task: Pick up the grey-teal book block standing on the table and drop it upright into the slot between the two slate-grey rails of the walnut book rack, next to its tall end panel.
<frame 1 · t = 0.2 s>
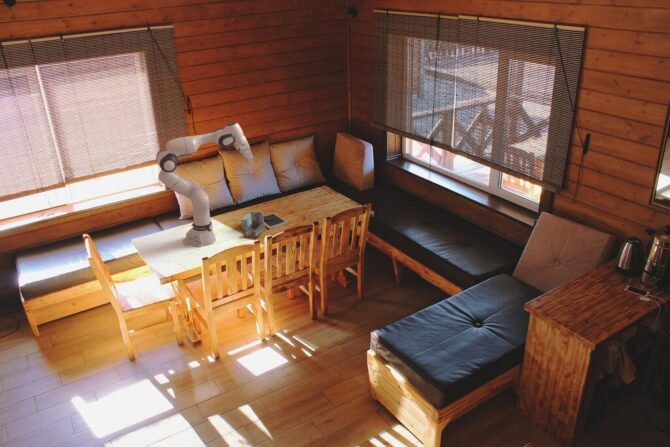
hand: (249, 161, 391), 51 cm above the table, tool tilted 20°, fingers open, 8 cm apart
book: (247, 226, 418), on the table
picture frame: (272, 222, 424), on the table
book rack: (254, 233, 408), on the table
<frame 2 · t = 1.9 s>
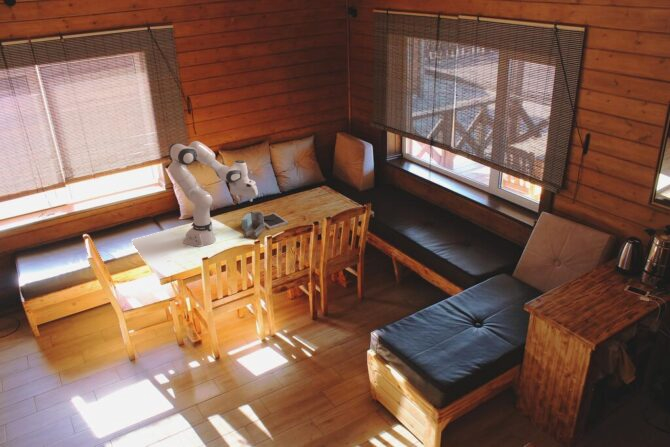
hand: (244, 200, 409), 20 cm above the table, tool pointing down, fingers open, 8 cm apart
nothing on the table moved.
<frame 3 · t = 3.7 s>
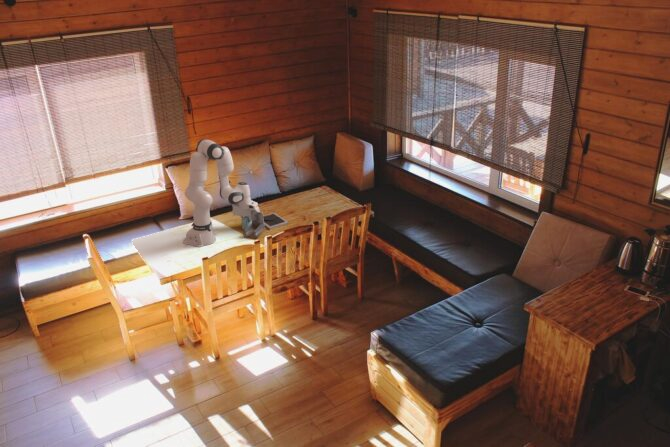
hand: (247, 221, 416), 4 cm above the table, tool pointing down, fingers closed on book, 4 cm apart
book: (247, 226, 418), on the table, touching gripper
everything else where it was.
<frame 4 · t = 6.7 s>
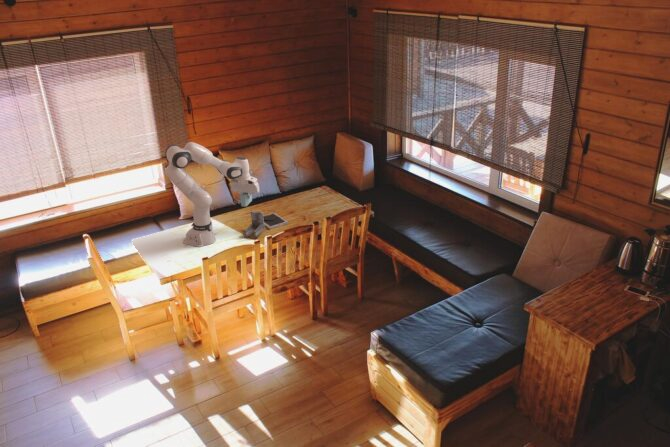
hand: (246, 197, 404), 24 cm above the table, tool pointing down, fingers closed on book, 3 cm apart
book: (246, 203, 406), point 20 cm above the table, touching gripper
everything else where it was.
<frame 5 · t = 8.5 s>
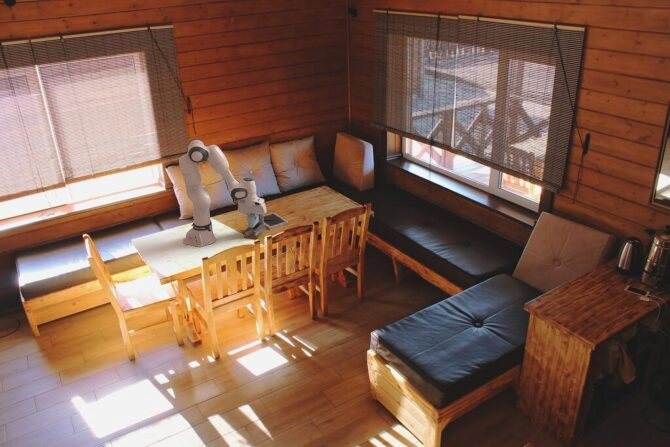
hand: (253, 218, 402), 12 cm above the table, tool pointing down, fingers closed on book, 3 cm apart
book: (253, 224, 404), point 7 cm above the table, touching gripper
everything else where it was.
when the fingers open (7 cm above the table, at t = 9.8 s): book drops 1 cm, resting on book rack.
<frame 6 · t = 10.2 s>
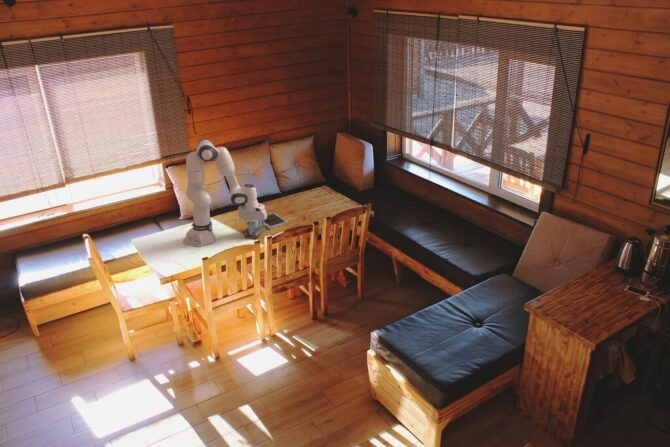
hand: (253, 224, 404), 7 cm above the table, tool pointing down, fingers open, 8 cm apart
book: (254, 231, 407), point 1 cm above the table, touching book rack
everything else where it was.
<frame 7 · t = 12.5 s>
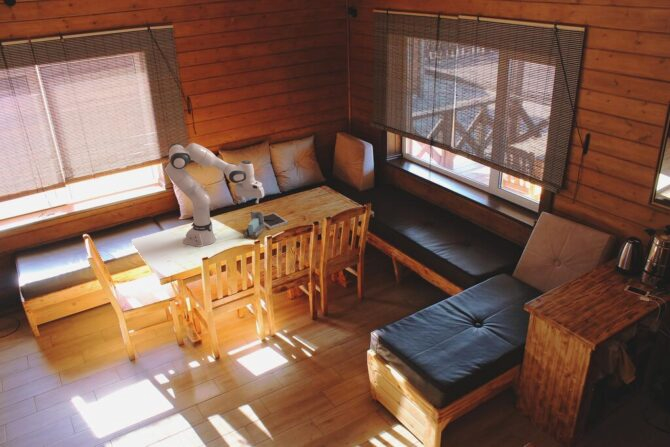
hand: (250, 202, 398), 24 cm above the table, tool pointing down, fingers open, 8 cm apart
nothing on the table moved.
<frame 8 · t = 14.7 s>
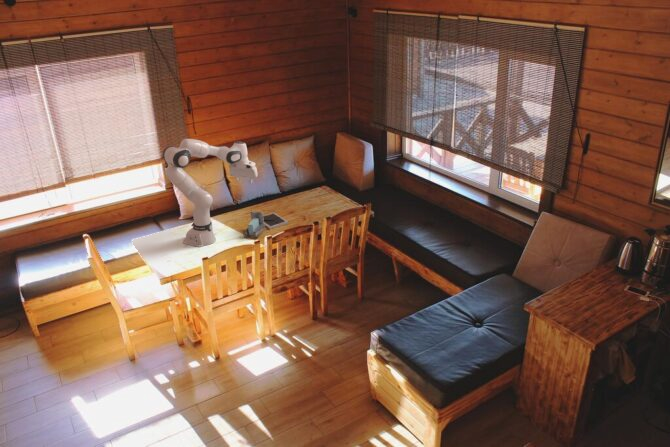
hand: (244, 182, 406), 33 cm above the table, tool pointing down, fingers open, 8 cm apart
nothing on the table moved.
at the end: book 0.0 cm off-centre on the book rack, point 1.5 cm above the book rack's base; book tilted 0°; the gripper is holding nothing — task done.
